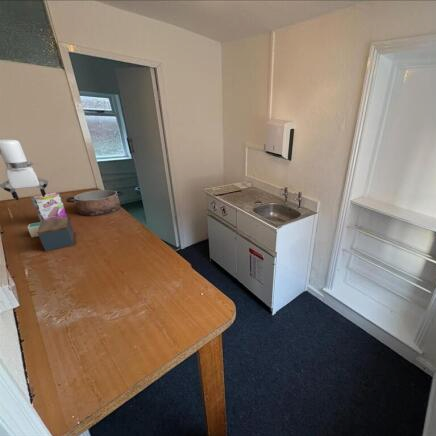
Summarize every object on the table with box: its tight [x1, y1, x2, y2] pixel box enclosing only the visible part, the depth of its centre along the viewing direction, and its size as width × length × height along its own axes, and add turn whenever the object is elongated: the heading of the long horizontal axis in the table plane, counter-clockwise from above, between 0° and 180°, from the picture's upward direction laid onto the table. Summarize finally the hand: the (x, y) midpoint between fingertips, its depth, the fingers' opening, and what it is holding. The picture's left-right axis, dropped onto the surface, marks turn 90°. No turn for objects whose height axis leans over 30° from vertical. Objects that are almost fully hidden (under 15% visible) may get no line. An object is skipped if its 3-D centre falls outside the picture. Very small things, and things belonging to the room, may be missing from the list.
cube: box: [27, 221, 41, 238], centre depth 123 cm, size 6×6×6 cm
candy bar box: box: [30, 192, 68, 222], centre depth 136 cm, size 11×5×16 cm, turn 154°
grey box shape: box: [37, 215, 75, 252], centre depth 116 cm, size 10×16×10 cm, turn 39°
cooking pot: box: [66, 189, 125, 217], centre depth 155 cm, size 30×22×11 cm
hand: (31, 197), depth 123 cm, fingers open, 9 cm apart
